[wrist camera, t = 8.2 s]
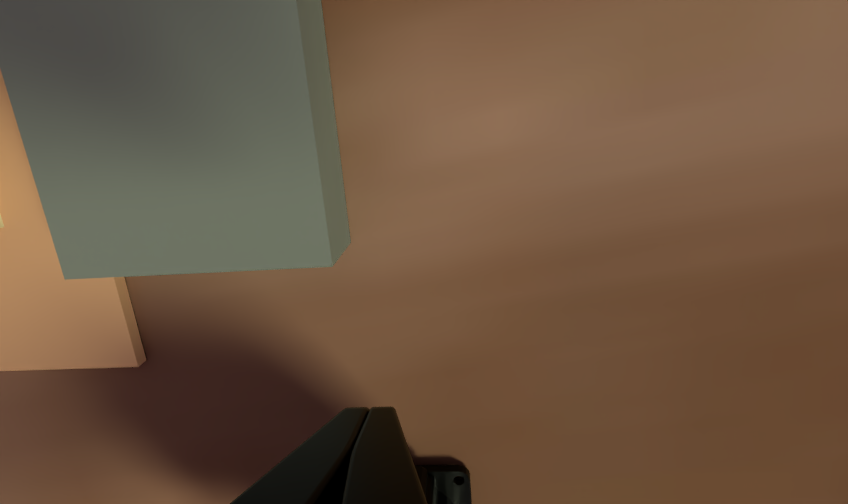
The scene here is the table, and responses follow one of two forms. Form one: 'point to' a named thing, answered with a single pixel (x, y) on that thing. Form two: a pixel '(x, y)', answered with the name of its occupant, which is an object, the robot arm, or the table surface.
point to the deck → (178, 133)
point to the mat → (51, 283)
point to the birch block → (1, 222)
